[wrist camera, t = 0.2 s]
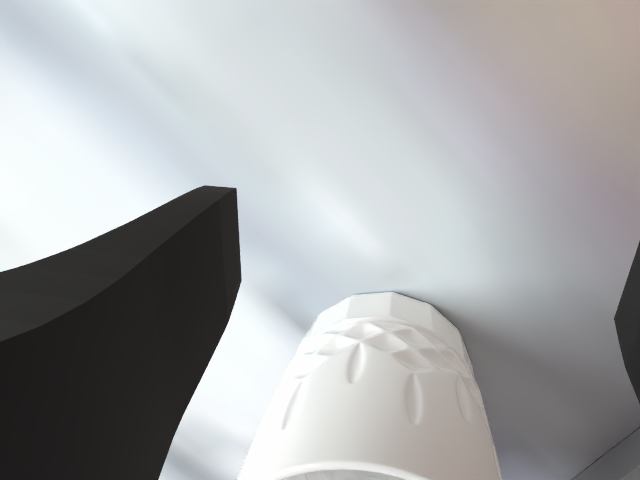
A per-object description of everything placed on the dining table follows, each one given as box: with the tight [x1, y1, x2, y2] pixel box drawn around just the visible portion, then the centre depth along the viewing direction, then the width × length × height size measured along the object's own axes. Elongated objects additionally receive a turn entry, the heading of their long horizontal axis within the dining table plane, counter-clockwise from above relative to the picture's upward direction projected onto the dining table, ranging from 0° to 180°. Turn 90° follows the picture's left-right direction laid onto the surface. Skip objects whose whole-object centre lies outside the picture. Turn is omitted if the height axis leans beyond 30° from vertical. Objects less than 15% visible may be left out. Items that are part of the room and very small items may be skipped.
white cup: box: [235, 292, 502, 480], centre depth 20 cm, size 8×8×10 cm
